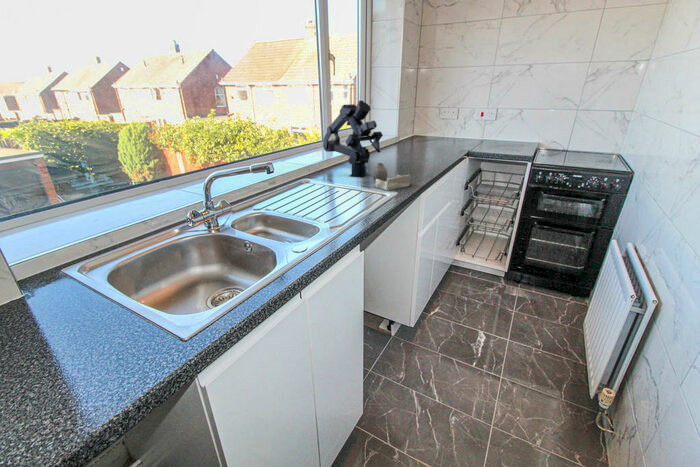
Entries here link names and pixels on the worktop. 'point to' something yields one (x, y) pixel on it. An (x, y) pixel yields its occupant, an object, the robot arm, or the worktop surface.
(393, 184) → the shoe shelf
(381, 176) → the vase
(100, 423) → the worktop surface
